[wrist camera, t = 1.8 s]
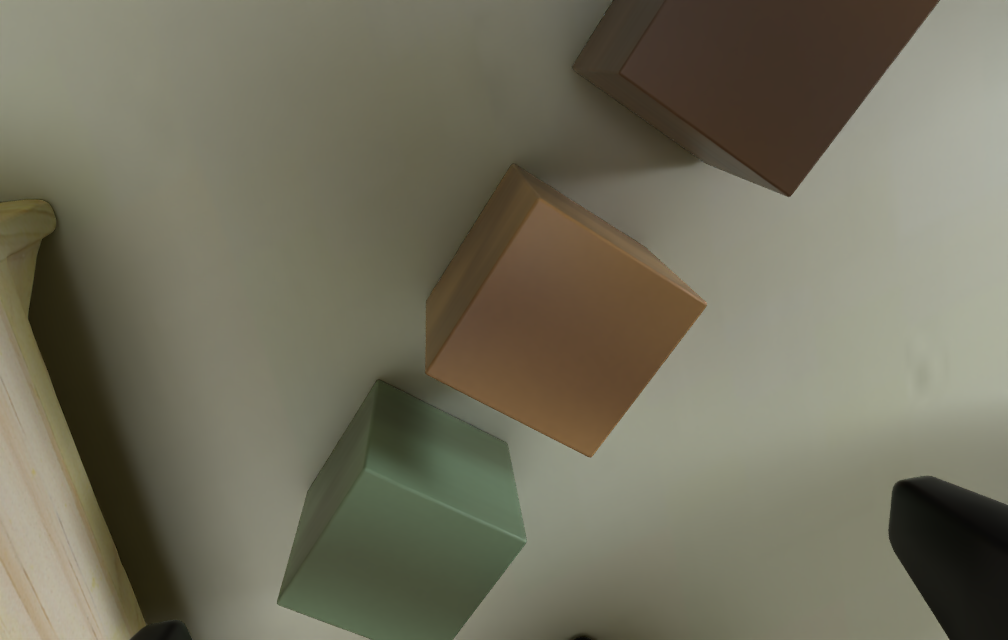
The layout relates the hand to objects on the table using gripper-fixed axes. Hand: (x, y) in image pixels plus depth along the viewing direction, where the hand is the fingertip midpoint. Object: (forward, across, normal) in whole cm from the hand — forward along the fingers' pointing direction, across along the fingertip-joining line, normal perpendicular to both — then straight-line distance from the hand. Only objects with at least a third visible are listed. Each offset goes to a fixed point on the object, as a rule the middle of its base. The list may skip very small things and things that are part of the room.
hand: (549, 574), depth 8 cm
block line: (+13, -5, -3) cm, 14 cm away
